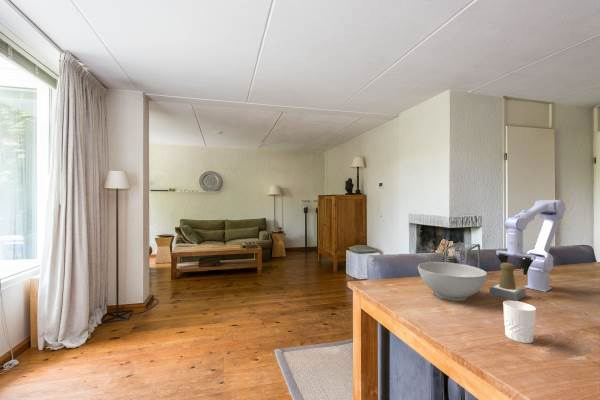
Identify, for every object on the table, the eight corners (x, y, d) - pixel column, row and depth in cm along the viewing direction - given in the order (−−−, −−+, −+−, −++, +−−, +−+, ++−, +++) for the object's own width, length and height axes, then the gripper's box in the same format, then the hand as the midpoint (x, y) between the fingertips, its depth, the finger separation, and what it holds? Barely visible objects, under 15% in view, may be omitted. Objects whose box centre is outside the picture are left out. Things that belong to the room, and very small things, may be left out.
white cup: (496, 332, 86) (496, 300, 86) (519, 331, 87) (519, 300, 87) (518, 345, 79) (518, 310, 79) (543, 344, 79) (543, 310, 79)
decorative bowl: (492, 295, 120) (492, 268, 120) (480, 313, 100) (480, 281, 100) (428, 282, 138) (428, 259, 138) (408, 296, 119) (408, 268, 119)
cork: (518, 290, 117) (519, 265, 117) (503, 289, 118) (503, 264, 118) (511, 285, 123) (511, 261, 123) (496, 284, 124) (496, 261, 124)
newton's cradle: (467, 285, 133) (467, 250, 134) (444, 281, 141) (444, 247, 141) (480, 274, 155) (480, 243, 155) (459, 270, 162) (459, 241, 162)
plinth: (499, 289, 128) (499, 282, 128) (525, 296, 119) (525, 288, 119) (489, 293, 122) (489, 286, 122) (516, 300, 114) (516, 292, 114)
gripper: (493, 242, 129) (493, 270, 129) (531, 246, 117) (531, 277, 117) (499, 240, 133) (499, 268, 133) (537, 244, 121) (537, 275, 121)
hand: (515, 272), depth 125 cm, fingers open, 7 cm apart
